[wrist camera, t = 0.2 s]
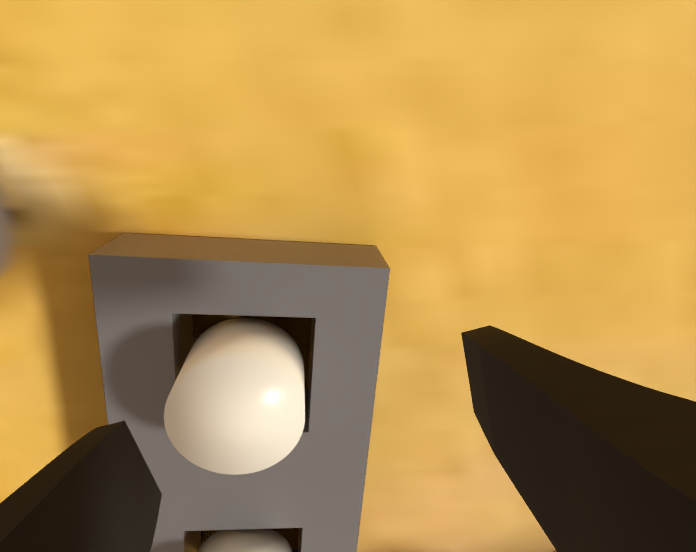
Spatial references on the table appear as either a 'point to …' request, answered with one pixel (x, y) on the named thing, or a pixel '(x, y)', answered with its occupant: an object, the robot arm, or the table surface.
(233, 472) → the button
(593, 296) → the table surface
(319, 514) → the control strip
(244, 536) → the button mid
